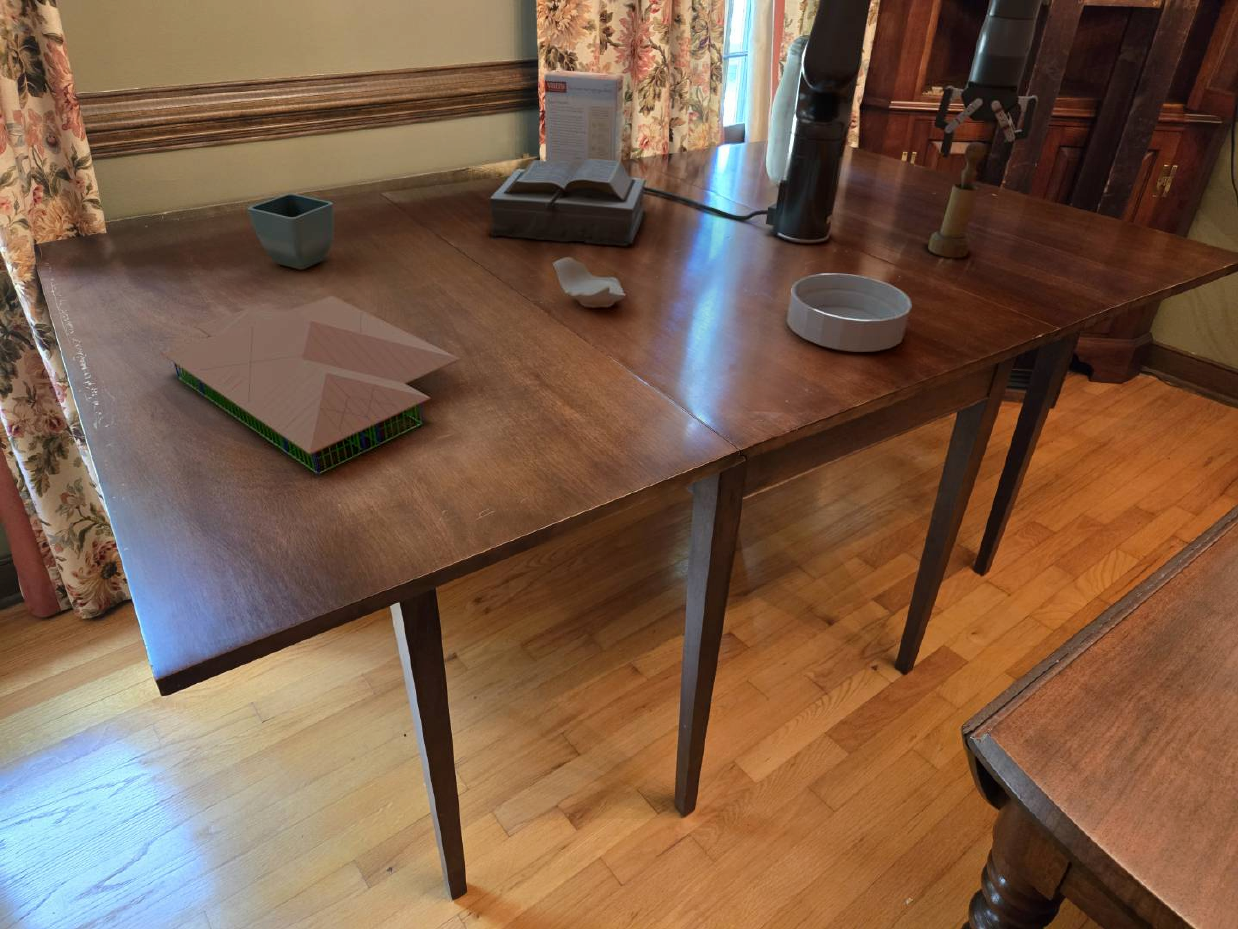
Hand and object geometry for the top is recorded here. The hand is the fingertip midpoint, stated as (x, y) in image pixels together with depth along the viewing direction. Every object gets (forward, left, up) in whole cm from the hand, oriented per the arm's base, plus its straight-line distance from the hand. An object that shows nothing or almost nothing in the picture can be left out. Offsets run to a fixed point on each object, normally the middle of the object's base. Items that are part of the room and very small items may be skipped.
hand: (972, 160), depth 134 cm
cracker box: (-70, -5, -16) cm, 72 cm away
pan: (-7, -41, -15) cm, 44 cm away
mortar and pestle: (0, 0, -15) cm, 15 cm away
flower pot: (-86, -64, -15) cm, 108 cm away
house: (-57, -90, -15) cm, 108 cm away
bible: (-61, -25, -15) cm, 68 cm away
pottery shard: (-41, -52, -15) cm, 68 cm away
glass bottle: (-36, +21, -15) cm, 44 cm away
